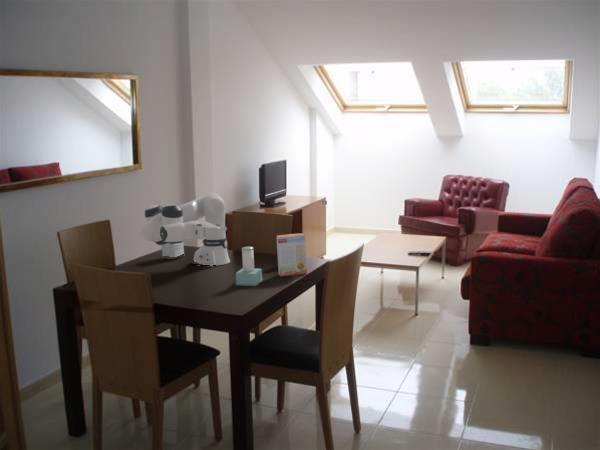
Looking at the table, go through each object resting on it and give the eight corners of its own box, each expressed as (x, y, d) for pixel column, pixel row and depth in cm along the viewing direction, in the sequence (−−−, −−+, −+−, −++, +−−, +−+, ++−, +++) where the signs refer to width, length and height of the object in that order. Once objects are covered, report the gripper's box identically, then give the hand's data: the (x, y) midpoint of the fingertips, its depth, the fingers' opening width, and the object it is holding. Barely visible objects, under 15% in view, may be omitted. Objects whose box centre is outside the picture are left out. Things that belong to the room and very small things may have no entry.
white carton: (184, 256, 394) (182, 228, 391) (175, 260, 385) (173, 231, 382) (171, 255, 398) (169, 228, 395) (162, 259, 389) (159, 231, 386)
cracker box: (304, 271, 347) (302, 232, 343) (307, 274, 341) (305, 234, 337) (278, 274, 344) (276, 234, 340) (280, 277, 338) (278, 236, 334)
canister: (242, 272, 326) (241, 249, 324) (243, 269, 332) (241, 246, 330) (254, 272, 326) (253, 248, 324) (254, 269, 332) (253, 246, 330)
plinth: (235, 285, 326) (234, 273, 325) (243, 279, 337) (242, 267, 335) (256, 285, 324) (255, 273, 323) (263, 280, 334) (262, 268, 333)
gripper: (189, 233, 324) (216, 229, 330) (202, 240, 306) (230, 236, 312) (188, 220, 323) (215, 217, 329) (201, 226, 305) (229, 223, 311)
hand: (223, 226), depth 320 cm, fingers open, 8 cm apart
